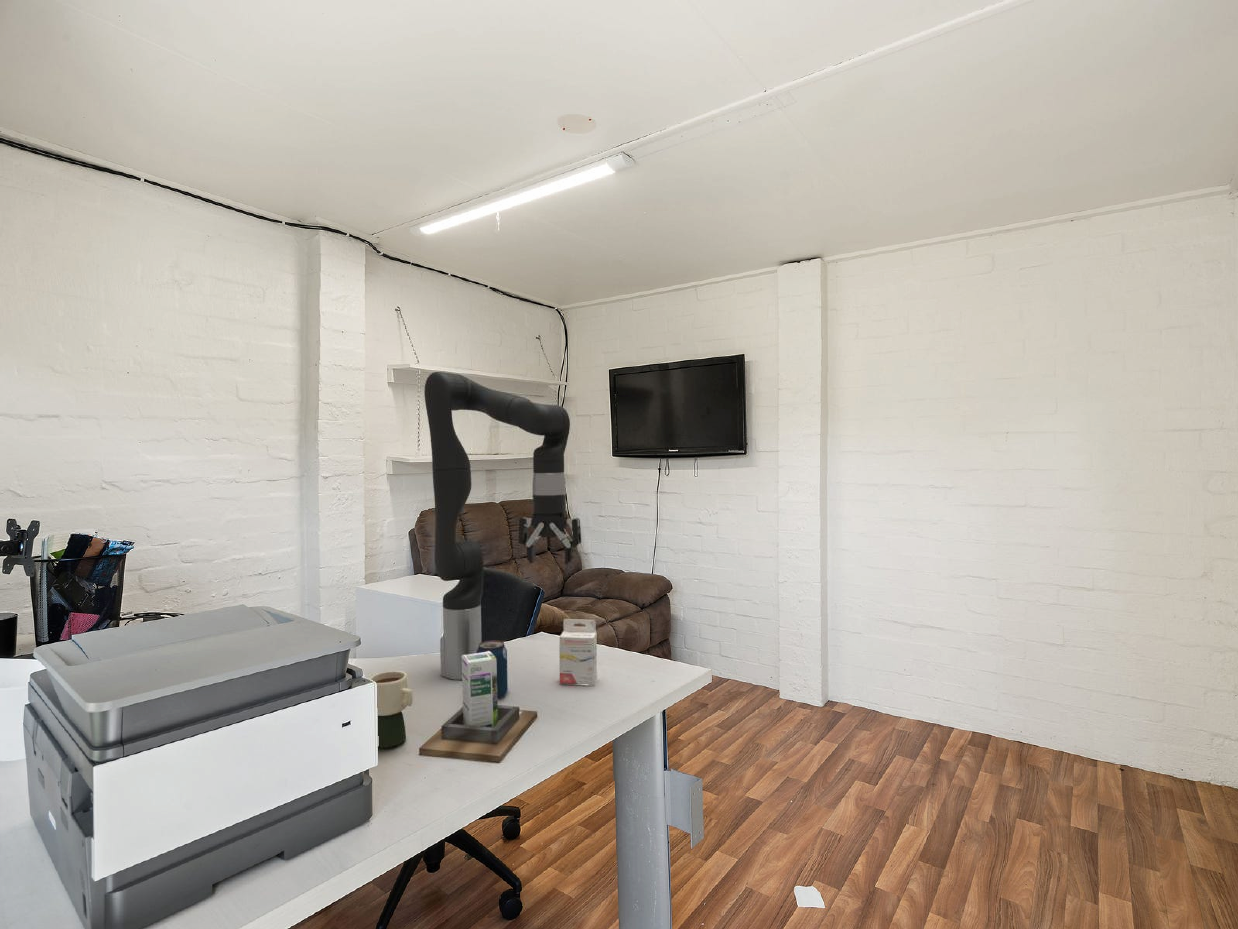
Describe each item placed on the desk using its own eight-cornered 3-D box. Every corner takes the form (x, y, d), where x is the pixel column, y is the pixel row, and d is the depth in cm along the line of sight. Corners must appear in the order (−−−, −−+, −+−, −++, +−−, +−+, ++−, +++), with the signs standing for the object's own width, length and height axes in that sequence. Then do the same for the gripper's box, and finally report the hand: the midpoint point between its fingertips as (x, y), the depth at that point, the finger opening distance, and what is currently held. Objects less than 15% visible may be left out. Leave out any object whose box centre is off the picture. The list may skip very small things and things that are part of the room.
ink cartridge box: (559, 685, 155) (558, 624, 155) (562, 678, 160) (562, 618, 160) (594, 686, 154) (594, 624, 154) (597, 678, 159) (596, 619, 159)
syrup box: (469, 737, 126) (467, 662, 125) (462, 725, 131) (461, 653, 131) (498, 731, 128) (497, 658, 128) (490, 719, 133) (489, 649, 133)
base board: (419, 754, 121) (418, 734, 121) (466, 711, 141) (466, 694, 141) (499, 762, 118) (499, 742, 118) (537, 717, 137) (537, 699, 137)
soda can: (513, 692, 151) (512, 640, 151) (497, 703, 145) (496, 650, 144) (487, 688, 154) (486, 638, 153) (470, 699, 147) (469, 647, 147)
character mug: (424, 739, 127) (423, 673, 127) (400, 756, 121) (398, 686, 120) (379, 731, 131) (377, 667, 131) (353, 747, 125) (351, 680, 124)
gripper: (513, 493, 147) (514, 565, 147) (574, 494, 143) (575, 567, 144) (525, 491, 154) (526, 559, 154) (583, 491, 151) (584, 561, 151)
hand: (550, 563), depth 149 cm, fingers open, 8 cm apart
